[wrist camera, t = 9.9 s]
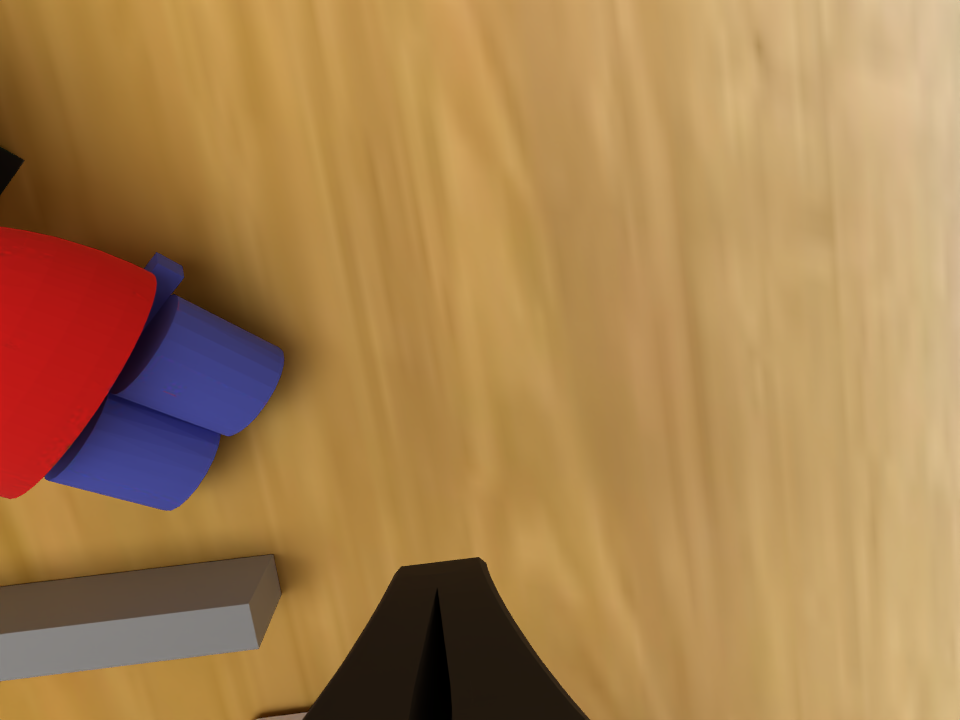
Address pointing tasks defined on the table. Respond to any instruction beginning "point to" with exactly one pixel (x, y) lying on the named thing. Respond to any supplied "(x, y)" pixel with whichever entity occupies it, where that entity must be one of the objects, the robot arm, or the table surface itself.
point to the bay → (136, 616)
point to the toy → (115, 372)
